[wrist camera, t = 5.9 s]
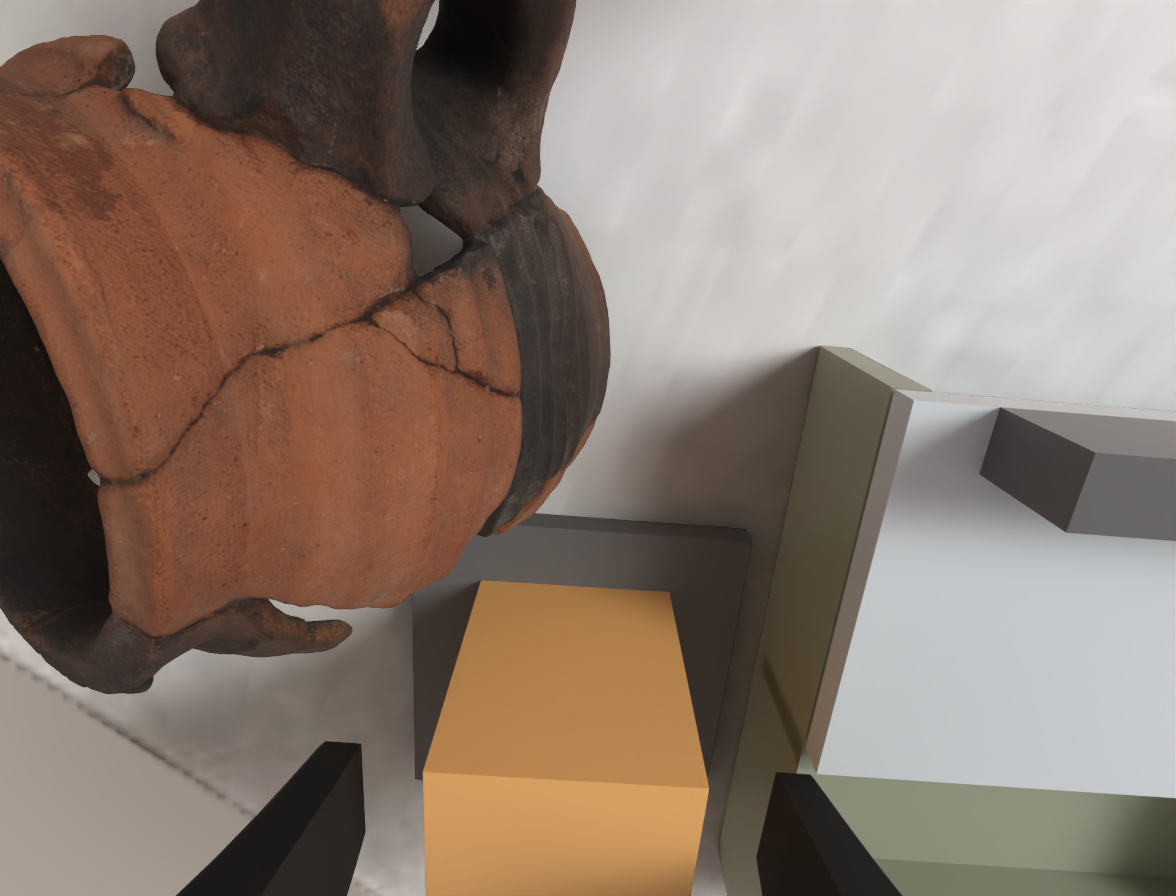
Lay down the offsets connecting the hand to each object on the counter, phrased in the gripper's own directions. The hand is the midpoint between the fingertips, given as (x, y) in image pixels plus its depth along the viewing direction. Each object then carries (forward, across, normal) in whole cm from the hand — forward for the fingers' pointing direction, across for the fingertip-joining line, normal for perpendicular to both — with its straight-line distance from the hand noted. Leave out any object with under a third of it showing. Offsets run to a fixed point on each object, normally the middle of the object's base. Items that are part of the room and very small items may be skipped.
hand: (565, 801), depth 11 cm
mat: (+4, 0, 0) cm, 4 cm away
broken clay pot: (+4, +4, -8) cm, 10 cm away
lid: (+1, -11, -4) cm, 11 cm away
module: (+3, 0, 0) cm, 3 cm away
